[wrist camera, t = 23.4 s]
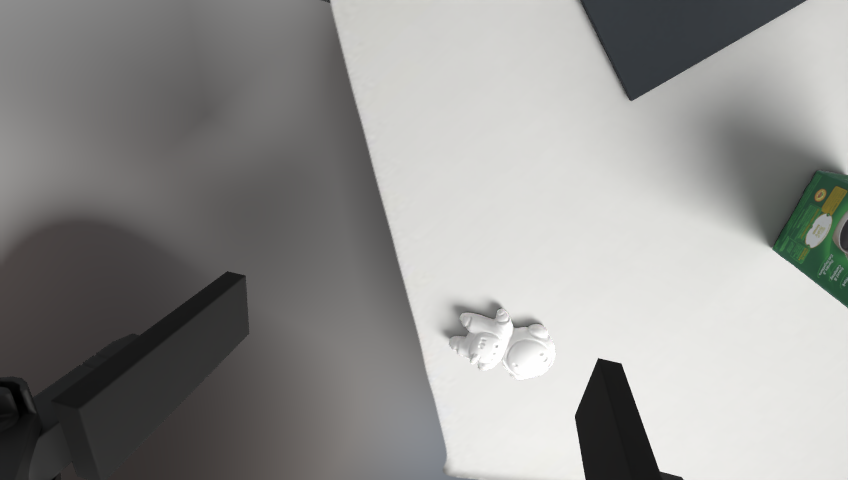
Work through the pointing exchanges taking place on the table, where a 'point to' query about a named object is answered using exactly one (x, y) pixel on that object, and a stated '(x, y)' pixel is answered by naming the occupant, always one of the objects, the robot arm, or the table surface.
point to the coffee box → (820, 234)
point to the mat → (672, 33)
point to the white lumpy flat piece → (505, 345)
